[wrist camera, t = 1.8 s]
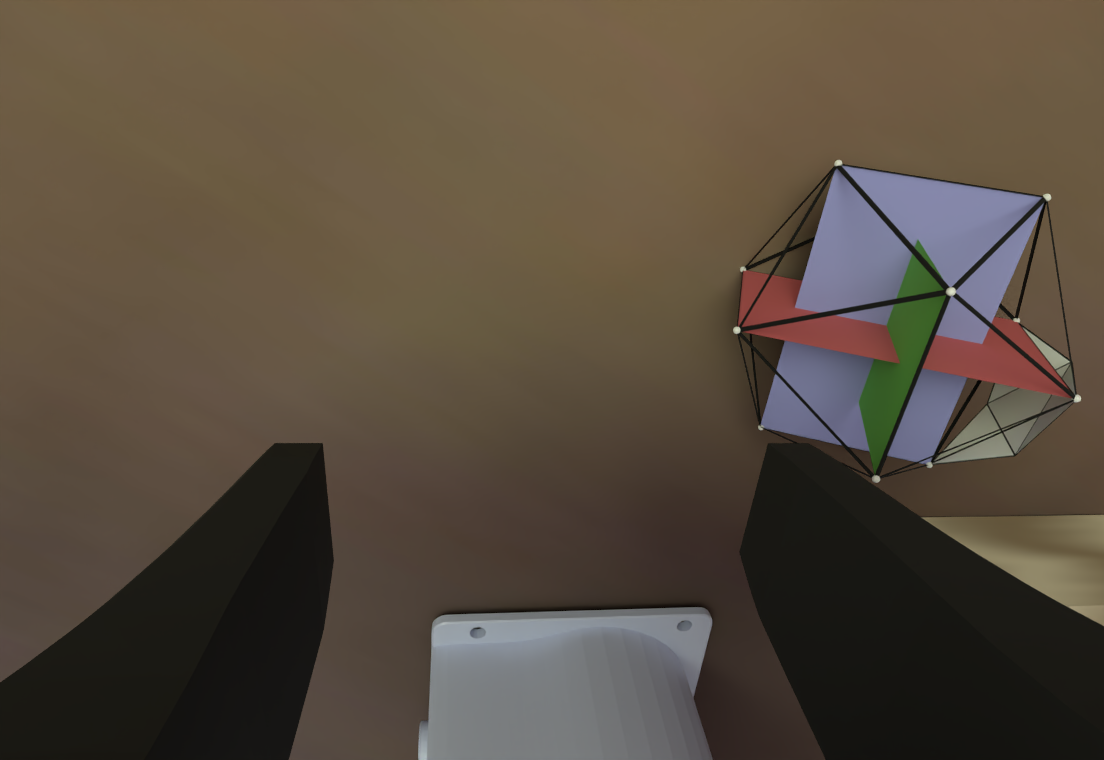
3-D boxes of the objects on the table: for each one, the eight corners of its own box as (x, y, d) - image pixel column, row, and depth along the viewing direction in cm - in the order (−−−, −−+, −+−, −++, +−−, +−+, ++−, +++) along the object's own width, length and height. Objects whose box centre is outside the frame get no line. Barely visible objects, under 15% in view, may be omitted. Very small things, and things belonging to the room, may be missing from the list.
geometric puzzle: (630, 420, 19) (947, 610, 14) (682, 143, 15) (1124, 267, 10) (778, 351, 23) (1055, 477, 18) (843, 127, 20) (1201, 209, 15)
